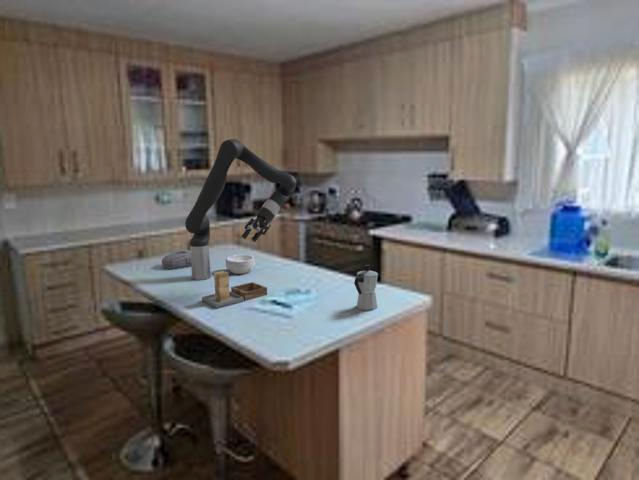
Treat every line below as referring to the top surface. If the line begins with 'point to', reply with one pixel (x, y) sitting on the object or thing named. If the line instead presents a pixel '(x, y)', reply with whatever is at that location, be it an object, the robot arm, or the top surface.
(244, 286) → the square wooden frame
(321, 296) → the top surface
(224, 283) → the oak peg
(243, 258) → the paper bowls
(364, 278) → the coffee maker
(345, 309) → the top surface
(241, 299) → the tray
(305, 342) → the top surface
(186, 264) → the grey rounded bag
